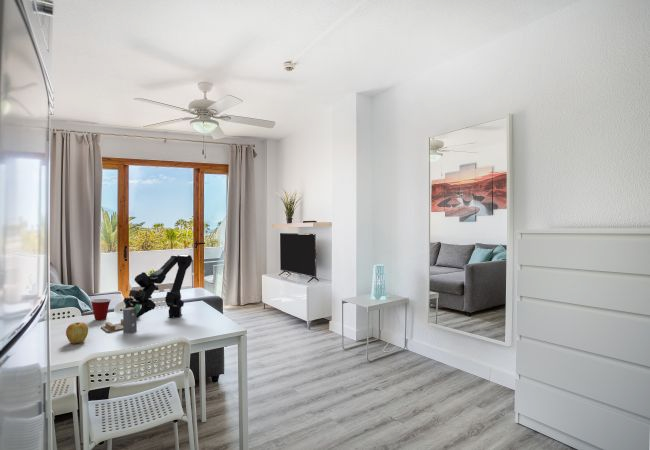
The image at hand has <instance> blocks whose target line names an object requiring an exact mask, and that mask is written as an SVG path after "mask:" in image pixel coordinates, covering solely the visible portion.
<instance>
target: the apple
mask: <svg viewBox="0 0 650 450" xmlns="http://www.w3.org/2000/svg"><path fill="white" fill-rule="evenodd" d="M88 333H89V327H88V325H87V324H86V323H85V322H77V321H76V322H73V323H70V324H69V325H68V326H67V327H66V330H65V336H66V338H67V340H68V341H69V343H70V344H80V343H83V342H84V341H86V338H87V336H88V335H89V334H88Z"/></svg>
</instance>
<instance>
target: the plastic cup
mask: <svg viewBox="0 0 650 450" xmlns="http://www.w3.org/2000/svg"><path fill="white" fill-rule="evenodd" d="M111 301H112V299H111V298H110V299H109V298H96V299H91V300H90V303H91V307H92V312H93V316H94V320H95V321H98V322H99V321H104V320H107V318H108V313H109V306H110V303H111Z"/></svg>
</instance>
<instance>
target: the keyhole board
mask: <svg viewBox="0 0 650 450" xmlns="http://www.w3.org/2000/svg"><path fill="white" fill-rule="evenodd" d="M100 329H102V330H103V331H104V332H106V334H107V333H114V332H118V331H123V318H122V319H120V323H115V324H113V323H112V322H110V321H105V322H104V325H103V326H100Z"/></svg>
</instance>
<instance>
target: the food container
mask: <svg viewBox="0 0 650 450" xmlns="http://www.w3.org/2000/svg"><path fill="white" fill-rule="evenodd" d="M134 301H136V299H134ZM124 307H126V305H125V304H124ZM134 308H136V314H138V312H139V311H140V309H141V305H138V304H136V306H134Z"/></svg>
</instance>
